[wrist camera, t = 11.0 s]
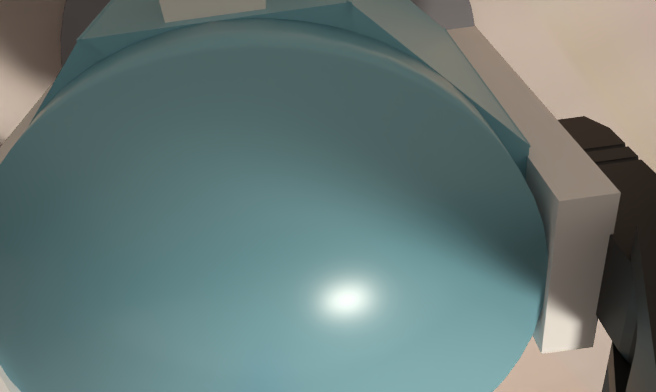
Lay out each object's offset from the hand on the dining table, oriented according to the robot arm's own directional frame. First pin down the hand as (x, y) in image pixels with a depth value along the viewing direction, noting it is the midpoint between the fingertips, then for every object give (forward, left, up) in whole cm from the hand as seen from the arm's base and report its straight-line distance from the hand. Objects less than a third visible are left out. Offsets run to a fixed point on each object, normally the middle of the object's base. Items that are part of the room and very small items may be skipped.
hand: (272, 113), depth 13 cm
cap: (0, 0, 0) cm, 0 cm away
